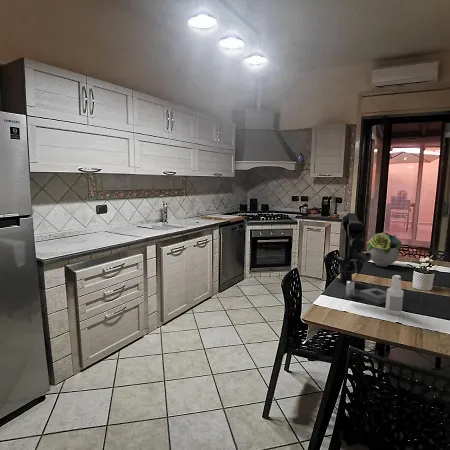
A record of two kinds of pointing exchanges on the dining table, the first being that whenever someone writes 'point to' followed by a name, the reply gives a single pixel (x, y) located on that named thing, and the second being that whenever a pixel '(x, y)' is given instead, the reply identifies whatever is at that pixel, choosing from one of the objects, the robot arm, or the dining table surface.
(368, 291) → the socket
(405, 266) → the dining table surface
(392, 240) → the flower arrangement
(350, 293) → the peg
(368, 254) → the robot arm
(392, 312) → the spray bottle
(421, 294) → the dining table surface
